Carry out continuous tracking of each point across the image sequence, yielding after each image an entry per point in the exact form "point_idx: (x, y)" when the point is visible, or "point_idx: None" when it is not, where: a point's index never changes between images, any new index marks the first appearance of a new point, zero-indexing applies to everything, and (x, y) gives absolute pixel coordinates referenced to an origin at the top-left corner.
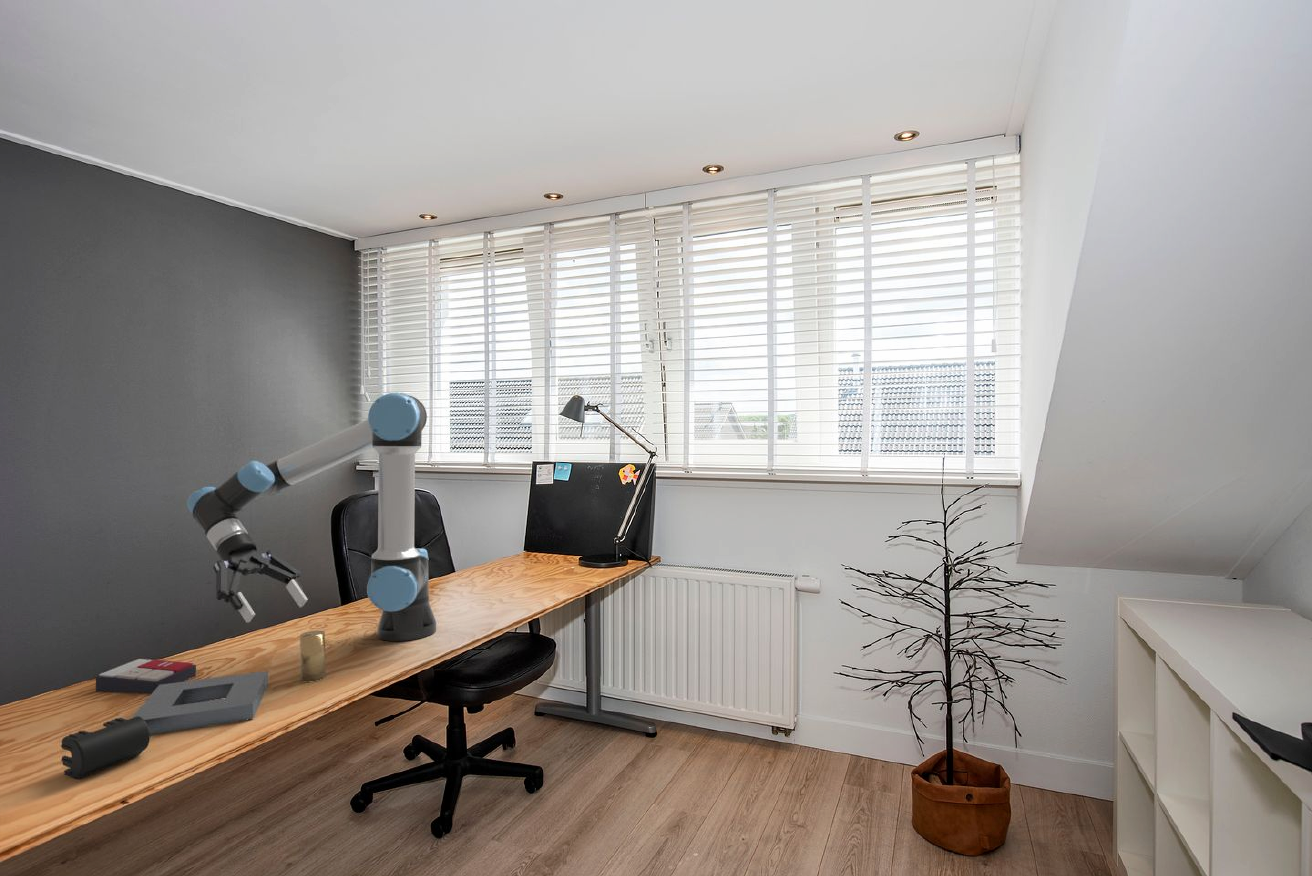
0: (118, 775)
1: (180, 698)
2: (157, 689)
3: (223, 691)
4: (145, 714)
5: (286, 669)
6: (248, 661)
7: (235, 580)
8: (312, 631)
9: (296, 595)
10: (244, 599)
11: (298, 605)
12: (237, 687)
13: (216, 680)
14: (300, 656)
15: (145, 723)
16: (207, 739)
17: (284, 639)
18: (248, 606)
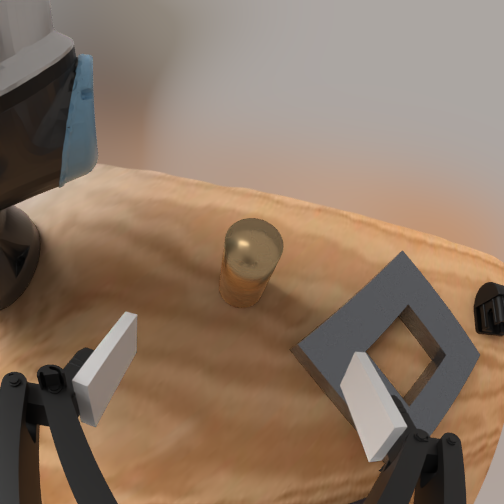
0: None
1: (416, 392)
2: None
3: None
4: (466, 358)
5: (207, 378)
6: (181, 495)
7: (407, 487)
8: (236, 254)
9: (120, 361)
10: (384, 397)
11: (133, 357)
12: (377, 325)
13: None
14: (266, 282)
15: (494, 283)
16: (435, 271)
17: (44, 498)
18: (373, 374)
